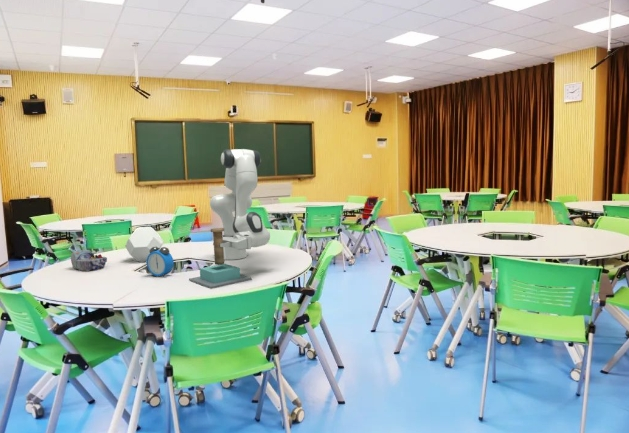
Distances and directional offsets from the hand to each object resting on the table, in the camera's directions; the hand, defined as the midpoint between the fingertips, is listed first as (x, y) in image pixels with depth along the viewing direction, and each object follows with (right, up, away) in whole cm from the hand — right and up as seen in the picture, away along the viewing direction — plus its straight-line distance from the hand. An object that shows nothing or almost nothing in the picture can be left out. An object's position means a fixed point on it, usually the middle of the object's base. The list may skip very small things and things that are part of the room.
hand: (216, 244), depth 218 cm
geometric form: (-56, -13, +59) cm, 82 cm away
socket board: (+1, -17, +3) cm, 18 cm away
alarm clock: (-33, -17, +17) cm, 41 cm away
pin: (+1, -9, +2) cm, 10 cm away
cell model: (-81, -17, +40) cm, 92 cm away
